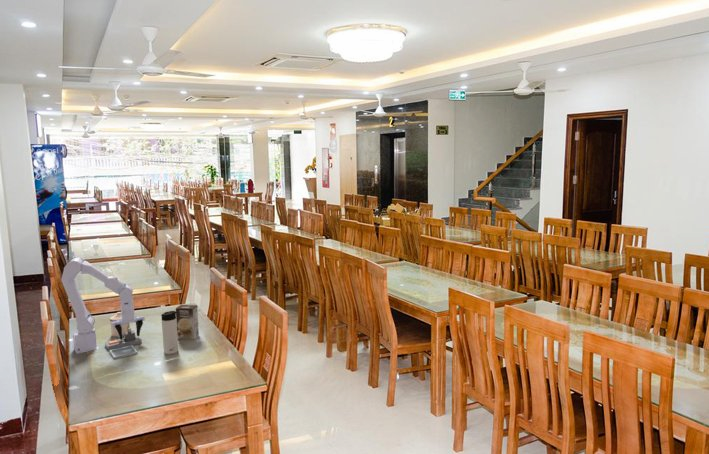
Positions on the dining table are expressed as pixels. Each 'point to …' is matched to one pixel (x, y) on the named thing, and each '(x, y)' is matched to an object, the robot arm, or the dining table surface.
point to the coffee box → (187, 322)
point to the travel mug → (169, 333)
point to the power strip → (122, 343)
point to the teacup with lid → (124, 326)
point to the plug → (129, 335)
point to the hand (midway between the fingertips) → (129, 337)
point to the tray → (123, 352)
